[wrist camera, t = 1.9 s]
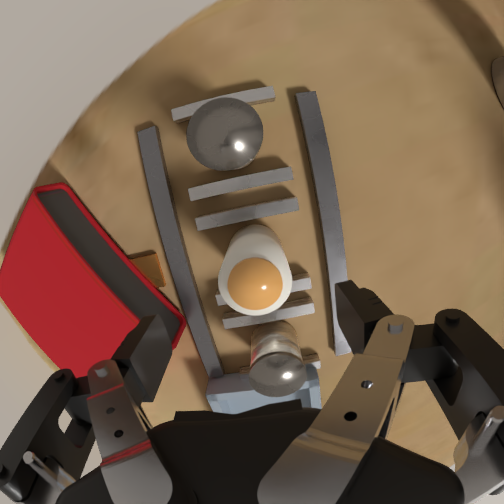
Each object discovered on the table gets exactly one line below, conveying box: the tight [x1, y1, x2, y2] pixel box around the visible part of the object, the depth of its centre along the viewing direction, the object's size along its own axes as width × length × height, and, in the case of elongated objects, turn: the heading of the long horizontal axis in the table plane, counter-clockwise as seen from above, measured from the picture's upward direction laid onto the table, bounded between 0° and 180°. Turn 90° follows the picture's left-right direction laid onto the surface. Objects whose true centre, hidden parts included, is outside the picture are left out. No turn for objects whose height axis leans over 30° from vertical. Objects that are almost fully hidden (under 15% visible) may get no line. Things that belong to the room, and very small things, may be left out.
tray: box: [205, 367, 321, 414], centre depth 27 cm, size 11×11×3 cm
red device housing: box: [0, 182, 186, 378], centre depth 22 cm, size 18×14×5 cm
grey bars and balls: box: [129, 86, 351, 397], centre depth 20 cm, size 19×26×6 cm
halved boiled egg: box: [218, 224, 292, 315], centre depth 19 cm, size 4×4×7 cm
